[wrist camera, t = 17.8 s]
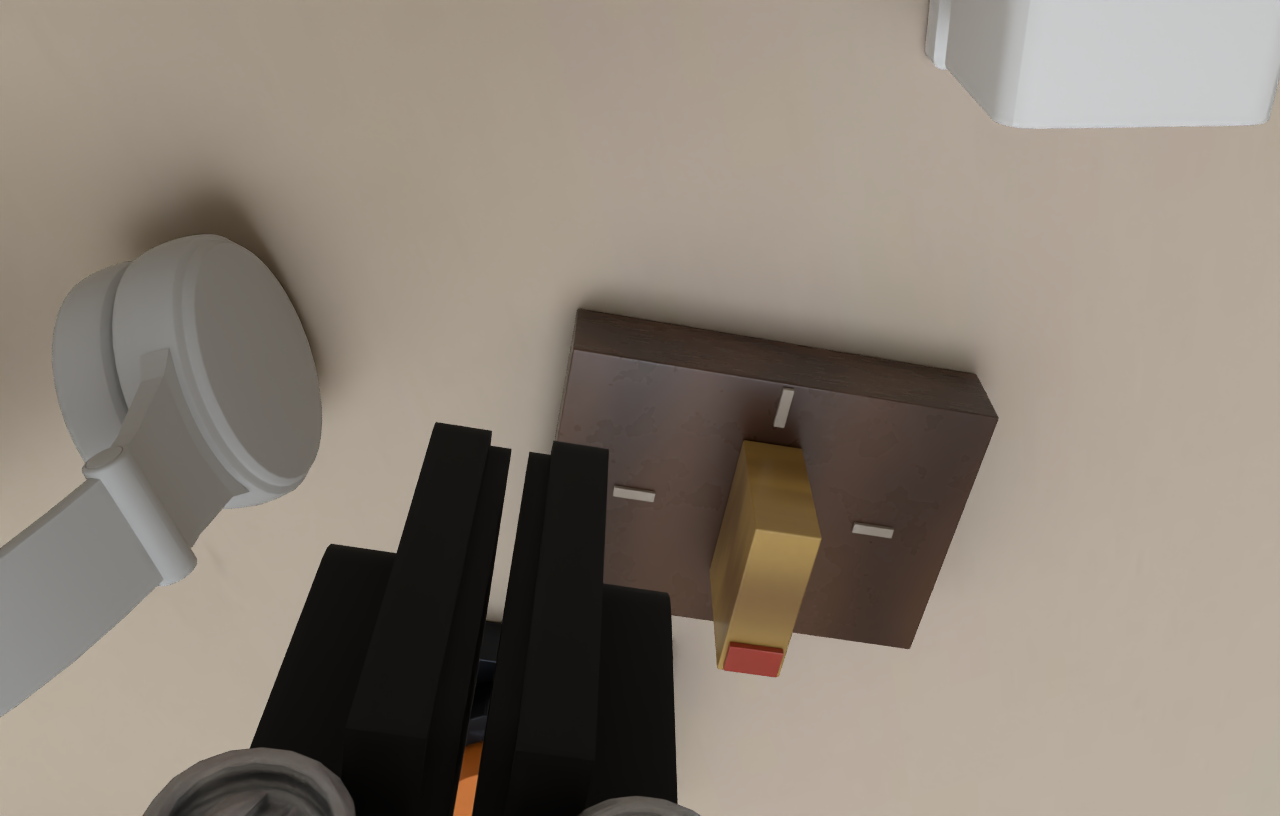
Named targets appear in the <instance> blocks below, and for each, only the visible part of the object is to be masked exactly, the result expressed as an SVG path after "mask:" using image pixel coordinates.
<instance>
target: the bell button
mask: <svg viewBox="0 0 1280 816" xmlns="http://www.w3.org/2000/svg"><path fill="white" fill-rule="evenodd" d="M482 746H483V741H482V742H478V743H474V744H470V745H468V746H466V747H465V750H464V756H463V762H462V768H461V774H460V779H459V785H458V791H457V797H456V803H455V808H454V814H453V816H472V811H473V804H474V798H475V792H476V785H477V779H478V772H479V766H480V759H481V753H482Z"/></svg>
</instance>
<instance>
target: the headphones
mask: <svg viewBox="0 0 1280 816" xmlns="http://www.w3.org/2000/svg"><path fill="white" fill-rule="evenodd" d="M52 367H53V375H54V383H55V388H56V393H57V397H58V401H59V405H60V409H61V412H62V415H63V418H64V421H65V423H66V426H67V429H68V431H69V433H70V435H71V437H72V440H73V442H74V444H75V446H76V448H77V450H78V451H79V453H80V455H81V457H82V458H83V460H84V462H85V464H84V466H83V468H82V473H83V475H84V476H85V478H86V479H87V480H86V481H85V482H84V483H83V484H81V485H80V486H79V487H78V488H76V489H75V490H74V491H73V492H71V493H70V494H69V495H68V496H67V497H65V498H64V499H63V500H62V501H60V502H59V503H58V504H57V505H55V506H54V507H53V508H52V509H51V510H49V511H48V512H47V513H46V514H44V515H43V516H42V517H40V518H39V519H38V520H36V521H35V522H34V523H33V524H31V525H30V526H29V527H27V528H26V529H25V530H23V531H22V532H21V533H19V534H18V535H17V536H16V537H14V538H13V539H12V540H10V541H9V542H8V543H6V544H5V545H4V546H2V547H1V548H0V717H2V716H3V715H4V714H6V713H7V712H9V711H10V710H12V709H13V708H15V707H16V706H18V705H19V704H20V703H21V702H23V701H24V700H25V699H27V698H28V697H29V696H31V695H32V694H33V693H34V692H36V691H37V690H38V689H40V688H41V687H42V686H43V685H45V684H46V683H47V682H49V681H50V680H51V679H53V678H54V677H55V676H56V675H58V674H59V673H60V672H62V671H63V670H64V669H65V668H67V667H68V666H69V665H71V664H72V663H73V662H75V661H76V660H77V659H78V658H79V657H80V656H81V655H82V654H84V653H85V652H86V651H87V650H88V649H89V648H90V647H91V646H93V645H94V644H95V643H96V642H97V641H98V640H99V639H100V638H102V637H103V636H104V635H105V634H106V633H107V632H108V631H110V630H111V629H112V628H113V627H114V626H115V625H116V624H117V623H119V622H120V621H121V620H122V619H123V618H124V617H125V616H126V615H127V614H128V613H129V612H130V611H131V610H133V609H134V608H135V607H136V606H137V605H138V604H139V603H140V602H141V601H142V600H143V599H144V598H145V597H146V596H147V595H148V594H149V593H150V592H151V591H152V590H153V589H155V588H156V587H157V586H168V585H171V584H174V583H176V582H178V581H180V580H182V579H183V578H185V577H186V576H187V575H189V574H190V573H191V572H192V571H193V569H194V568H195V566H196V564H197V558H196V556H195V555H194V553H193V552H192V550H191V547H193V545H194V543H195V542H196V540H197V538H198V537H199V535H200V534H201V532H202V531H203V530H204V529H205V528H206V527H207V526H208V525H209V524H210V522H211V521H212V520H213V519H214V518H215V517H216V516H217V514H218V513H219V512H220V511H221V510H222V508H223V509H232V508H242V507H248V506H254V505H260V504H263V503H266V502H269V501H272V500H274V499H277V498H279V497H281V496H283V495H285V494H287V493H289V492H291V491H293V490H295V489H296V488H297V487H298V486H299V485H300V484H301V483H302V482H303V480H304V478H305V477H306V475H307V473H308V471H309V469H310V467H311V465H312V464H313V462H314V460H315V458H316V455H317V452H318V449H319V444H320V439H321V429H322V405H321V396H320V388H319V382H318V377H317V372H316V368H315V364H314V359H313V356H312V353H311V349H310V346H309V343H308V340H307V337H306V335H305V332H304V329H303V327H302V324H301V322H300V320H299V318H298V315H297V313H296V311H295V309H294V307H293V305H292V303H291V301H290V300H289V298H288V296H287V294H286V292H285V291H284V289H283V288H282V286H281V285H280V283H279V282H278V280H277V279H276V277H275V276H274V275H273V274H272V272H271V271H270V270H269V268H268V267H267V266H266V265H265V264H264V263H263V262H262V261H261V260H260V259H259V258H258V257H257V256H255V255H254V254H253V253H252V252H250V251H249V250H247V249H245V248H244V247H242V246H240V245H238V244H236V243H234V242H232V241H231V240H229V239H227V238H225V237H222V236H219V235H215V234H202V235H193V236H187V237H182V238H178V239H174V240H172V241H169V242H166V243H163V244H161V245H158V246H156V247H154V248H152V249H150V250H148V251H146V252H145V253H143V254H142V255H140V256H139V257H138V258H137V259H135V260H134V261H128V262H123V263H119V264H116V265H113V266H110V267H107V268H105V269H102V270H100V271H97V272H95V273H93V274H91V275H89V276H88V277H86V278H84V279H83V280H82V281H80V282H79V283H78V284H76V285H75V286H74V287H73V288H72V289H71V291H70V292H69V293H68V295H67V296H66V297H65V299H64V301H63V303H62V305H61V307H60V310H59V312H58V315H57V319H56V323H55V327H54V333H53V343H52Z"/></svg>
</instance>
